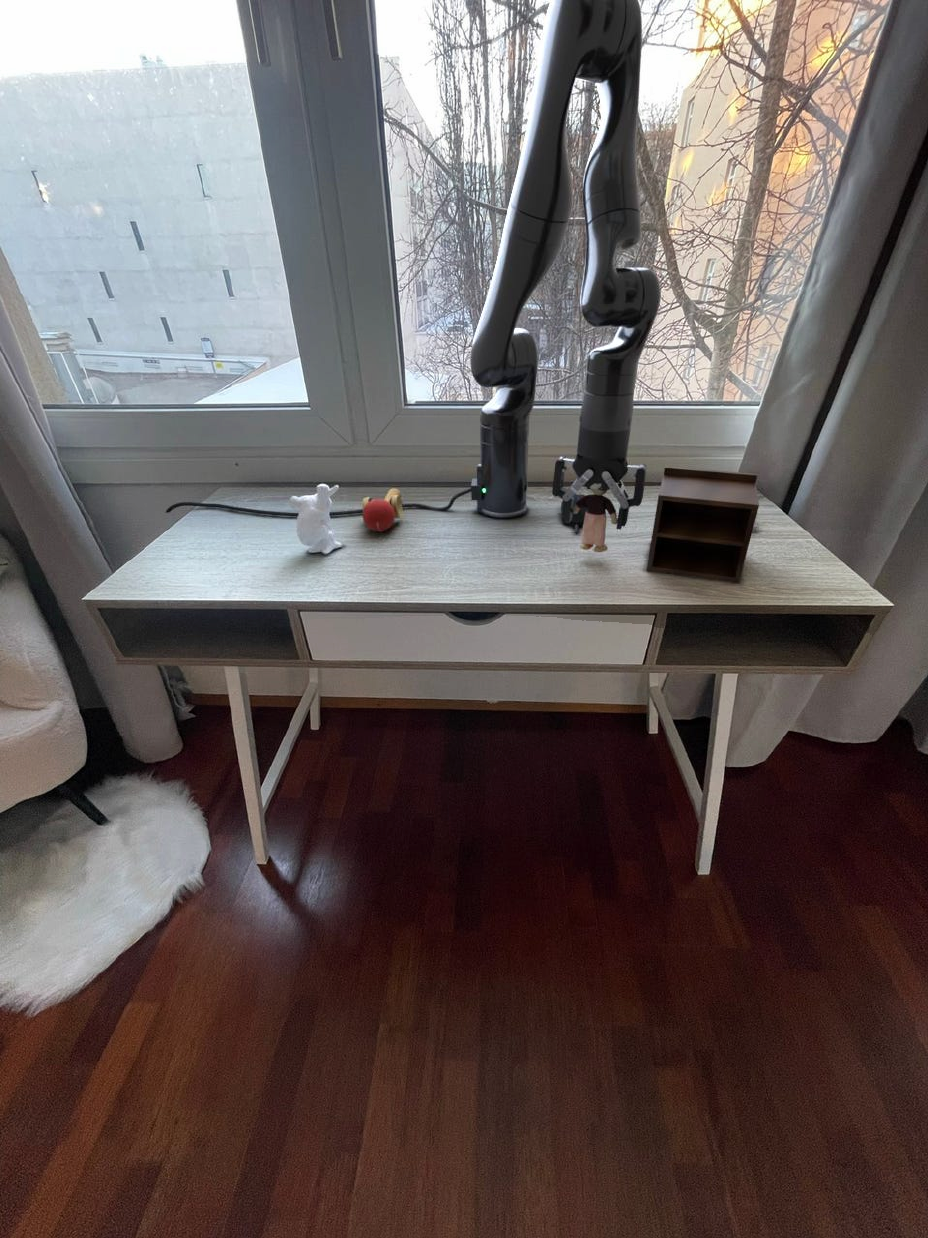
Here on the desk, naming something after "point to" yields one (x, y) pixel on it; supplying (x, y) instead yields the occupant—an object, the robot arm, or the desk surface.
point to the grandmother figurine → (595, 518)
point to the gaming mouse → (576, 518)
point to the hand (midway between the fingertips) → (593, 524)
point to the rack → (703, 523)
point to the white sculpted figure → (316, 520)
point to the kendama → (382, 510)
